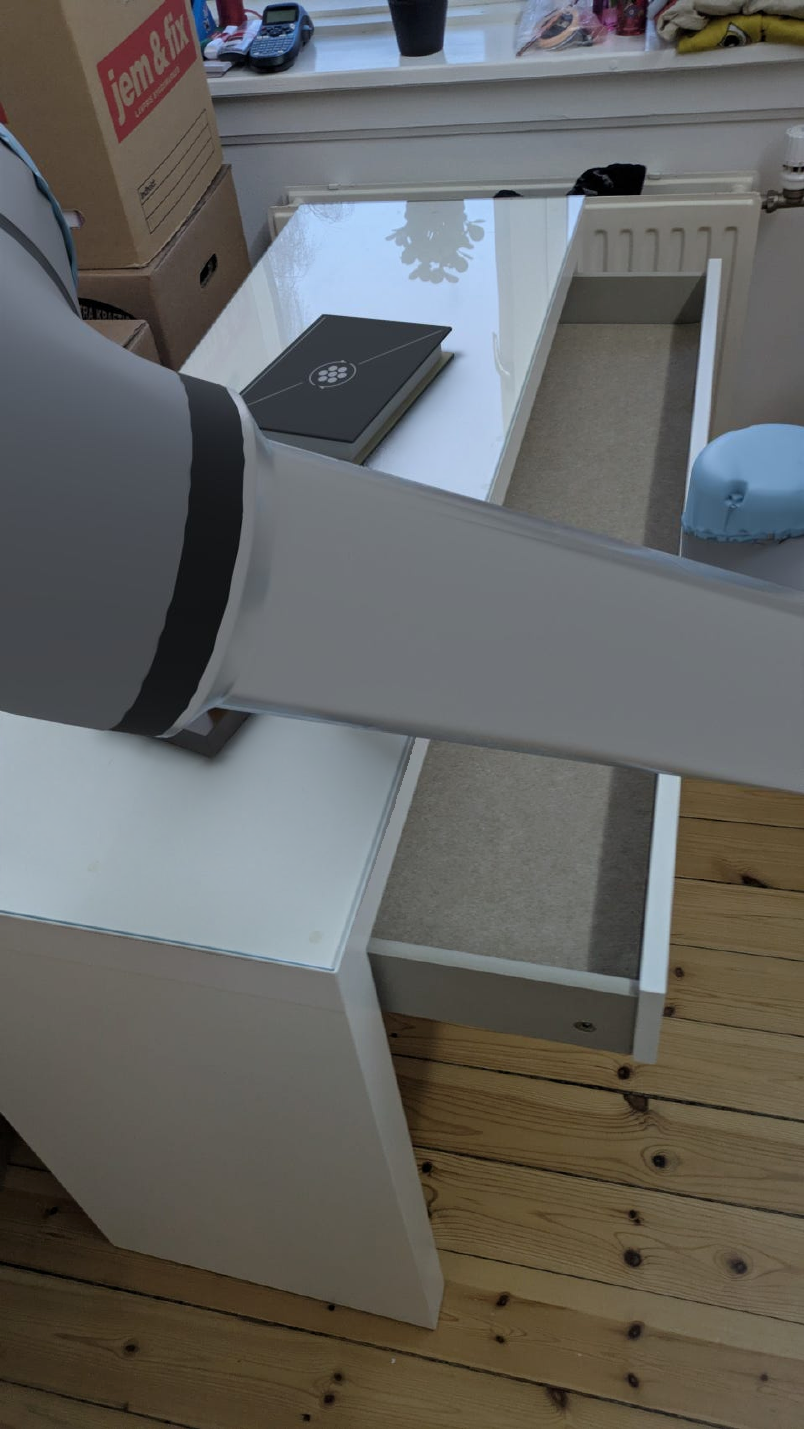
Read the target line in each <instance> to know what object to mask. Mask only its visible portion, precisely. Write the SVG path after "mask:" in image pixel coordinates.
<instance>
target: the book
mask: <svg viewBox="0 0 804 1429" xmlns="http://www.w3.org/2000/svg"><path fill="white" fill-rule="evenodd" d="M452 331H453V327H452V326H449V325H438V324H430V323H429V324H428V323H420V322H419V323H418V322H411V321H410V322H409V321H398V320H390V319H389V320H387V319H379V318H371V317H359V316H349V315H342V314H341V315H340V314H339V315H338V314H331V313H322V314H320V316H318V317H317V318H316V320H314V321H313V322H312V324H310V325H309V326H308V327H307V328H306V329H305V330H304V331H303V332H302V333H301V334H300V335H299V336H297V337H296V338H295V339H294V341H293V342H291V343H290V344H289V345H288V346H286V348H285V349H284V350H283V351H282V352H280V354H279V355H277V356H276V357H275V358H274V359H273V360H272V361H271V362H270V363H269V364H268V365H267V366H266V367H264V369H263V370H262V371H261V372H259V374H258V375H256V376H255V377H254V378H253V379H252V380H251V381H250V382H249V383H247V385H246V386H245V387H244V388H243V389H241V391H240V392H239V393H238V394H239V395H241V397H242V398H243V400H244V402H245V404H246V406H247V407H248V409H249V411H250V413H251V415H252V416H253V418H254V420H255V422H256V424H257V425H258V427H259V429H260V431H261V433H262V434H263V436H264V437H265V438H266V439H268V440H272V441H275V442H279V443H282V444H286V445H289V446H293V447H296V448H300V449H303V450H307V451H311V452H314V453H318V454H321V455H325V456H328V457H332V458H335V459H339V460H342V461H346V462H349V463H353V464H356V465H360V466H363V465H364V463H365V462H367V460H368V458H369V457H370V456H371V455H372V454H373V453H374V452H375V450H376V449H377V448H378V447H379V446H380V445H381V443H382V442H383V441H384V440H385V438H386V437H387V436H388V435H389V434H390V432H392V430H393V429H394V428H395V426H396V425H397V424H398V423H399V422H400V421H401V419H402V418H404V416H405V415H406V414H407V412H408V411H409V410H410V409H411V408H412V407H413V405H414V404H415V403H416V402H417V401H418V399H419V398H420V397H421V396H422V395H423V393H424V392H425V391H426V390H427V388H428V387H429V386H430V385H431V384H432V383H433V382H434V380H436V378H437V377H438V375H440V373H441V372H442V371H443V370H444V368H445V367H446V366H447V365H448V364H449V362H450V361H451V360H452V359H453V358H454V357H455V353H454V352H449V351H443V350H442V343H443V341H444V340H446V338H447V337H448V336H449V334H451V332H452Z"/></svg>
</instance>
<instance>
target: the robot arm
mask: <svg viewBox="0 0 804 1429" xmlns="http://www.w3.org/2000/svg"><path fill="white" fill-rule="evenodd" d="M76 253H77V252H76V248H75V243H74V239H73V236H72V232H71V229H70V226H69V224H68V222H67V220H66V218H65V216H64V214H63V212H62V209H61V206H60V204H59V202H58V200H57V199H56V198H55V196H54V195H53V193H52V192H51V190H50V187H49V185H48V183H47V182H46V180H45V178H44V177H43V176H42V174H41V173H40V170H39V168H38V167H37V166H36V164H35V162H34V161H33V159H32V158H31V156H30V155H29V153H28V152H27V151H26V149H24V147H23V146H22V145H21V143H20V142H19V141H18V140H17V139H16V137H15V136H14V135H13V134H12V133H11V131H9V129H8V128H6V127H5V125H3V123H1V122H0V712H2V713H3V712H4V713H7V714H10V715H14V716H20V717H23V718H24V717H25V718H29V719H35V720H40V721H41V720H42V721H48V722H51V723H57V724H63V725H67V726H74V727H78V728H79V727H80V728H85V729H89V730H90V729H91V730H96V731H101V732H103V731H108V732H115V733H122V734H131V735H136V736H145V737H151V738H157V737H164V738H167V737H171V736H174V735H175V734H177V733H178V732H180V731H181V730H182V729H184V728H185V727H186V726H187V725H189V724H190V723H191V722H192V721H194V720H195V719H196V718H197V717H199V716H200V715H201V714H202V713H204V712H205V711H207V710H209V709H211V708H214V707H217V708H224V709H230V710H237V711H244V712H250V713H251V714H258V715H263V716H264V715H265V716H272V717H278V718H286V719H290V720H291V719H292V720H297V721H305V722H311V723H317V724H325V725H332V726H338V727H344V728H351V729H359V730H365V731H372V732H378V733H386V734H392V735H399V736H406V737H411V738H418V739H425V740H432V741H437V742H438V741H439V742H445V743H452V744H459V745H465V746H471V747H477V748H486V749H492V750H498V751H506V752H510V753H511V752H512V753H518V754H526V755H532V756H539V757H546V758H551V759H552V758H553V759H559V760H565V761H573V762H577V763H586V764H592V765H598V766H606V767H612V768H620V769H626V770H634V771H640V772H646V773H653V774H659V775H666V776H672V777H678V778H679V777H680V778H686V779H693V780H699V781H706V782H713V783H720V784H727V785H732V786H739V787H740V786H741V787H746V788H753V789H759V790H766V791H773V792H780V793H786V794H793V795H799V796H800V795H801V796H804V426H801V425H797V424H788V423H759V424H753V425H750V426H748V427H745V428H741V429H738V430H730V431H727V432H725V433H723V434H721V435H719V436H718V437H717V438H715V439H713V440H711V441H710V442H709V443H708V444H707V445H705V446H704V447H703V449H702V450H701V451H700V452H699V453H698V455H697V456H696V457H695V460H694V462H693V465H692V467H691V471H690V478H689V482H688V483H689V484H688V490H687V497H686V503H685V510H684V511H683V512H682V513H683V514H682V515H681V517H680V527H681V542H680V543H681V544H680V555H675V554H672V553H668V552H665V551H661V550H658V549H656V548H655V549H654V548H651V547H648V546H644V545H640V544H637V543H633V542H629V541H626V540H623V539H619V538H617V537H612V536H608V535H606V534H602V533H599V532H595V531H591V530H587V529H584V528H581V527H578V526H573V525H571V524H567V523H564V522H560V521H556V520H553V519H550V518H547V517H542V516H539V515H535V514H532V513H528V512H524V511H521V510H517V509H515V508H511V507H507V506H503V505H501V504H496V503H494V502H490V501H486V500H483V499H479V498H476V497H472V496H469V495H466V494H462V493H458V492H454V491H451V490H447V489H443V488H440V487H437V486H434V485H430V484H426V483H423V482H419V481H416V480H412V479H408V478H405V477H401V476H398V475H395V474H391V473H388V472H384V471H381V470H377V469H373V468H370V467H366V466H363V465H362V466H360V465H356V464H353V463H349V462H346V461H342V460H339V459H335V458H332V457H328V456H325V455H321V454H318V453H314V452H311V451H307V450H303V449H300V448H296V447H293V446H289V445H286V444H282V443H279V442H275V441H272V440H268V439H266V438H265V437H264V436H263V434H262V433H261V431H260V429H259V427H258V425H257V424H256V422H255V420H254V418H253V416H252V415H251V413H250V411H249V409H248V407H247V406H246V404H245V402H244V400H243V398H242V397H241V395H239V393H238V391H237V390H236V389H233V388H230V387H227V386H225V385H222V384H220V383H216V382H212V381H208V380H205V379H202V378H199V377H196V376H192V375H189V374H185V373H182V372H178V371H175V370H173V369H171V368H167V367H165V366H163V365H160V364H158V363H156V362H153V361H151V360H148V359H146V358H143V357H142V356H140V355H138V356H137V354H136V353H134V352H132V351H130V350H128V349H126V348H124V346H121V345H119V344H117V343H116V342H114V341H113V340H111V339H109V338H107V337H106V336H104V335H103V334H101V333H100V332H99V331H97V330H96V329H94V328H93V327H91V326H90V325H89V324H88V323H86V322H85V321H84V320H83V316H82V312H81V311H82V310H81V308H80V304H79V298H78V287H79V271H78V268H79V267H78V261H77V254H76ZM133 353H134V354H133ZM135 354H136V355H135ZM139 356H140V357H139ZM141 357H142V358H141Z"/></svg>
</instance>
